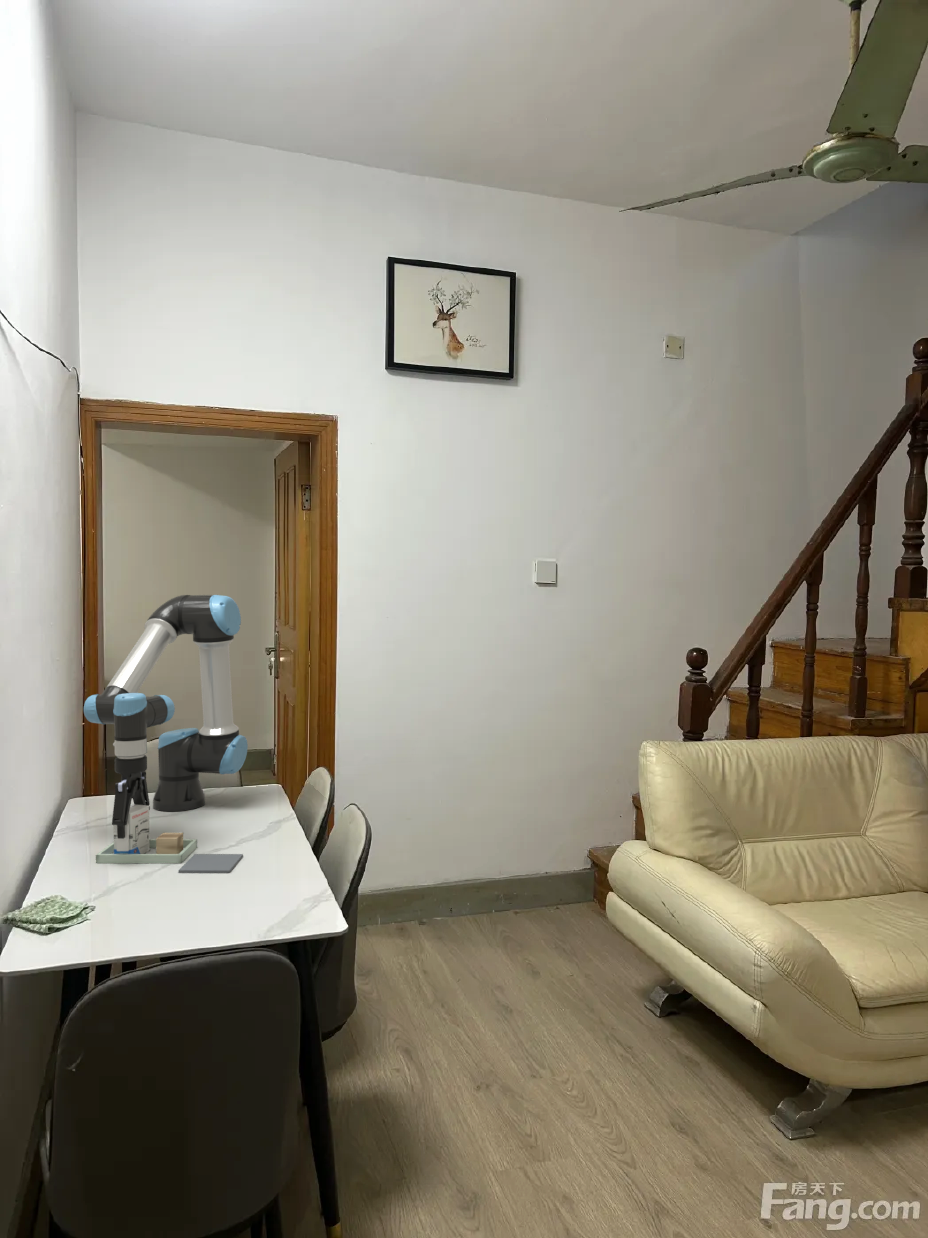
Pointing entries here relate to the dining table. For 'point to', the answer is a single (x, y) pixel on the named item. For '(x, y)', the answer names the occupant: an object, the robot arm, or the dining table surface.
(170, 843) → the kraft cube
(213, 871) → the rubber mat
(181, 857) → the parts tray
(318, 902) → the dining table surface
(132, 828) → the ink box
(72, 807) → the dining table surface
